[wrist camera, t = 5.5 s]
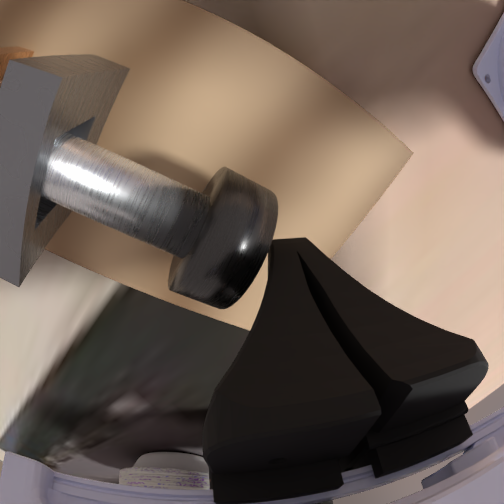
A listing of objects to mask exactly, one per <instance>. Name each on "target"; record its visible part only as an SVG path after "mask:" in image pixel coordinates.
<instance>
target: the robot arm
mask: <svg viewBox="0 0 504 504" xmlns="http://www.w3.org/2000/svg"><path fill="white" fill-rule="evenodd" d="M473 74H474V76H475V78H476V79H477V81H478V82H479V84H480V85H481V87H482V88H483V89H484V91H485V92H486V94H487V95H488V97H489V98H490V100H491V102H492V103H493V105H494V106H495V108H496V110H497V111H498V113H499V114H500V116H501V118H502V120H503V121H504V13H503V15H502V16H501V18H500V20H499V22H498V24H497V26H496V27H495V29H494V31H493V33H492V34H491V36H490V38H489V40H488V41H487V43H486V45H485V47H484V48H483V50H482V52H481V53H480V55H479V57H478V58H477V60H476V62H475V63H474V65H473ZM485 76H486V80H485ZM487 371H488V362H487V361H486V359H485V357H484V356H483V354H482V352H481V351H480V349H479V348H478V346H477V344H476V343H475V341H474V340H473V339H470V338H467V337H464V336H461V335H458V334H455V333H452V332H449V331H446V330H444V329H441V328H439V327H436V326H434V325H432V324H429V323H427V322H425V321H423V320H421V319H418V318H416V317H414V316H412V315H410V314H408V313H407V312H405V311H403V310H401V309H399V308H397V307H395V306H394V305H392V304H390V303H389V302H387V301H385V300H384V299H382V298H381V297H379V296H378V295H376V294H375V293H373V292H371V291H370V290H369V289H367V288H366V287H364V286H363V285H362V284H360V283H359V282H358V281H356V280H355V279H354V278H352V277H351V276H350V275H349V274H347V273H346V272H345V271H344V270H342V269H341V268H340V267H339V266H338V265H336V264H335V263H334V262H333V261H332V260H331V259H330V258H328V257H327V256H326V255H325V254H324V253H323V252H322V251H321V250H319V249H318V248H317V247H316V246H315V245H314V244H313V243H312V242H311V241H310V240H308V239H307V238H306V237H301V238H286V239H273V240H272V243H271V246H270V249H269V251H268V280H267V284H266V288H265V292H264V296H263V299H262V302H261V305H260V308H259V311H258V313H257V316H256V318H255V321H254V323H253V325H252V328H251V330H250V332H249V334H248V336H247V338H246V340H245V342H244V344H243V346H242V348H241V349H240V351H239V353H238V355H237V356H236V358H235V360H234V362H233V363H232V365H231V366H230V368H229V369H228V371H227V372H226V374H225V375H224V377H223V378H222V379H221V381H220V382H219V384H218V385H217V387H216V388H215V390H214V393H213V396H212V399H211V402H210V405H209V408H208V411H207V414H206V418H205V422H204V426H203V433H202V444H203V458H204V460H205V462H206V463H207V465H208V467H209V468H210V470H211V472H212V484H213V489H211V490H186V489H162V488H148V487H137V486H129V485H121V484H114V483H107V482H101V481H95V480H90V479H85V478H80V477H75V476H71V475H66V474H62V473H58V472H54V471H53V470H52V469H51V468H49V467H48V466H46V465H44V464H42V463H40V462H38V461H36V460H33V459H30V458H27V457H24V456H21V455H18V454H15V453H12V452H9V451H7V452H5V457H4V461H3V466H2V472H1V478H0V504H315V503H320V502H325V501H329V500H334V499H338V498H341V497H346V496H350V495H353V494H357V493H361V492H364V491H367V490H370V489H374V488H377V487H380V486H383V485H386V484H389V483H392V482H395V481H397V480H400V479H403V478H405V477H408V476H411V475H413V474H416V473H418V472H420V471H423V470H425V469H428V468H430V467H432V466H434V465H437V464H438V463H441V462H443V461H445V460H447V459H449V458H451V457H453V456H455V455H457V454H459V453H461V452H463V451H464V453H463V455H461V456H460V457H458V458H456V459H454V460H453V461H451V462H450V463H448V464H447V465H446V466H445V467H443V468H442V469H440V470H439V471H437V472H436V473H433V474H432V475H430V476H428V477H426V478H425V479H423V480H422V482H421V483H422V486H423V490H421V491H418V492H416V493H414V494H411V495H409V496H407V497H404V498H401V499H399V500H396V501H394V502H391V503H388V504H504V407H502V408H501V409H499V410H497V411H496V412H494V413H492V414H490V415H489V416H487V417H485V418H483V419H481V420H480V421H478V422H476V423H474V424H472V425H470V426H469V424H468V422H467V420H466V418H465V415H464V414H466V413H467V412H468V407H467V405H466V403H465V400H466V399H467V398H468V396H469V395H470V394H471V393H472V392H473V391H474V390H475V389H476V387H477V386H478V385H479V384H480V383H481V381H482V380H483V379H484V377H485V375H486V373H487Z"/></svg>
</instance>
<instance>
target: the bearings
mask: <svg viewBox="0 0 504 504" xmlns="http://www.w3.org/2000/svg"><path fill="white" fill-rule="evenodd" d="M33 54H34V51H32V50H29V49H25V48H22V47H18V46H15V47H2V48H0V278H2V279H4V280H6V281H8V282H10V283H12V284H14V285H16V286H17V287H20V285H21V283H22V282H23V280H24V279H25V277H26V275H27V274H28V272H29V271H30V269H31V268H32V266H33V265H34V263H35V262H36V260H37V259H38V257H39V256H40V254H41V253H42V251H43V250H44V248H45V247H46V246H47V244H48V243H49V241H50V240H51V239H52V237H53V236H54V235H55V233H56V232H57V230H58V229H59V228H60V226H61V225H62V224H63V222H64V221H65V220H66V219H67V217H68V216H69V215H70V213H71V212H72V210H70V209H68V208H66V207H64V206H61V205H59V204H57V203H55V202H53V201H51V200H49V199H46V198H44V197H42V196H41V192H42V187H43V183H44V179H45V174H46V170H47V166H48V163H49V159H50V155H51V152H52V148H53V145H54V141H55V138H57V137H58V136H60V135H62V134H64V133H65V132H68V133H70V134H72V135H75V136H77V137H79V138H82V139H84V140H86V141H89V142H91V143H93V144H95V145H97V143H98V140H99V137H100V135H101V132H102V130H103V127H104V125H105V123H106V120H107V118H108V115H109V113H110V111H111V109H112V106H113V104H114V102H115V100H116V97H117V95H118V93H119V91H120V89H121V87H122V85H123V83H124V81H125V79H126V77H127V75H128V73H129V71H130V68H128V67H125V66H123V65H120V64H118V63H115V62H113V61H110V60H108V59H105V58H102V57H100V56H97V55H94V54H83V55H53V56H39V57H32V56H33Z"/></svg>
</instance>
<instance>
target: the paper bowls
mask: <svg viewBox="0 0 504 504" xmlns="http://www.w3.org/2000/svg"><path fill="white" fill-rule="evenodd" d="M119 484H121V485H129V486H137V487H148V488H162V489H186V490H210V483H209V467H208V465H207V463H206V462H205V460H204V458H203V457H201V456H198V455H193V454H187V453H179V452H151V453H147V454H144V455H142V456H140V457H139V458H138V460H137V461H136V463H135V464H134V466H133V467H131V468H123V469H121V470H120V477H119Z"/></svg>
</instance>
